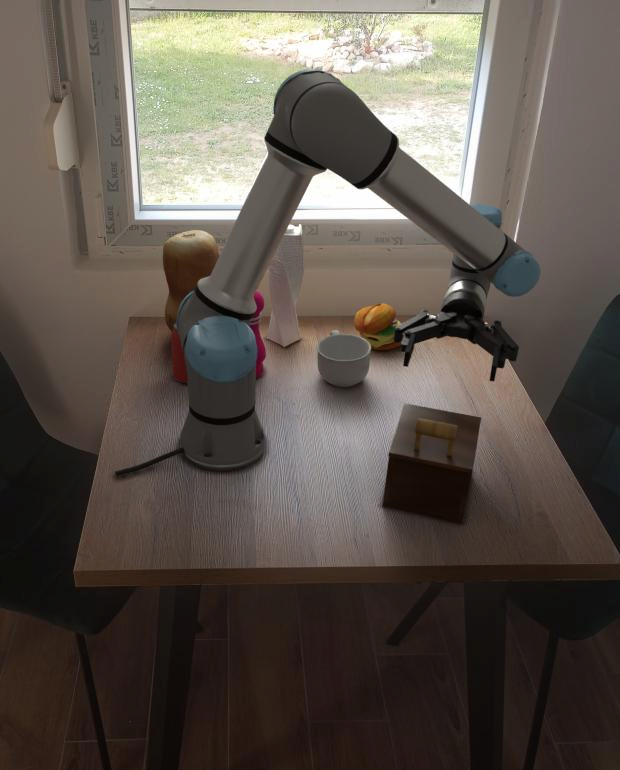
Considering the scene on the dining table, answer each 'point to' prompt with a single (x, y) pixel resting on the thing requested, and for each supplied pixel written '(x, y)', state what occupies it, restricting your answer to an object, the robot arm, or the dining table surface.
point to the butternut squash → (186, 267)
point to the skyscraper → (286, 287)
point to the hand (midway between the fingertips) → (449, 366)
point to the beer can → (178, 357)
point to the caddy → (426, 489)
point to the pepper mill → (258, 333)
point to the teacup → (343, 359)
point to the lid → (436, 438)
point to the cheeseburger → (378, 326)
